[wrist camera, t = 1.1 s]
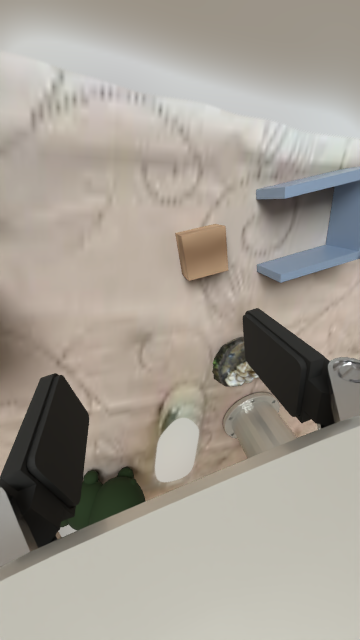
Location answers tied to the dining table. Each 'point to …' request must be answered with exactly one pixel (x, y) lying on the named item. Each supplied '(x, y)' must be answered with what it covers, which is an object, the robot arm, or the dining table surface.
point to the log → (232, 364)
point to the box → (343, 232)
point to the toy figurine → (105, 498)
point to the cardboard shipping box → (202, 251)
